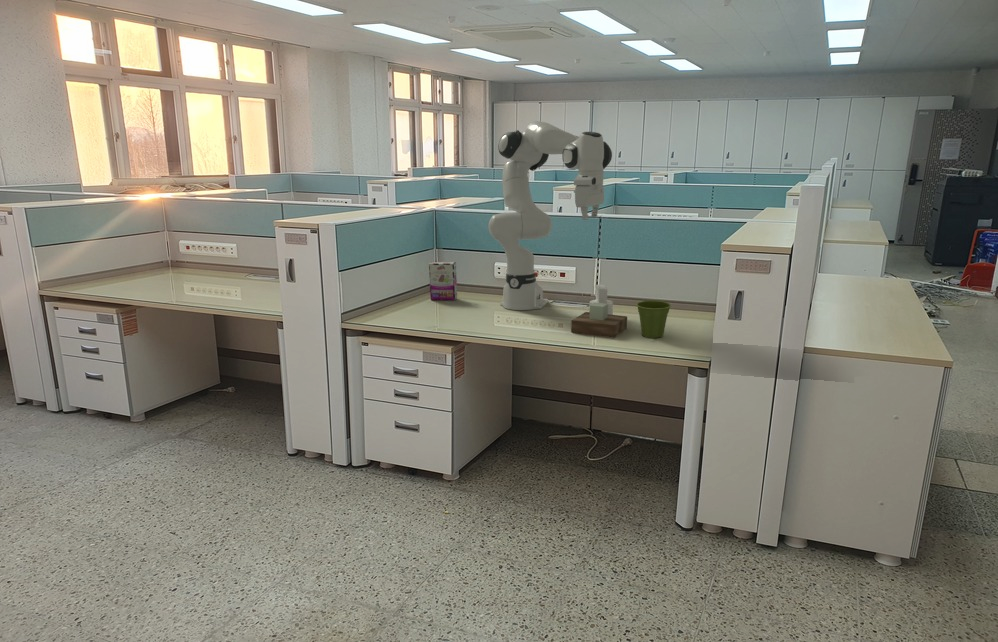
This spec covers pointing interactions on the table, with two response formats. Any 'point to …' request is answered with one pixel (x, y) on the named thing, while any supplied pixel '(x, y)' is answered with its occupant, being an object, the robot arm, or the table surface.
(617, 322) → the walnut block
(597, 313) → the sage cube
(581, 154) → the robot arm
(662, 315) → the plant pot
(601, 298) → the base with upright slab
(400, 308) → the table surface
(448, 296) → the candy bar box
